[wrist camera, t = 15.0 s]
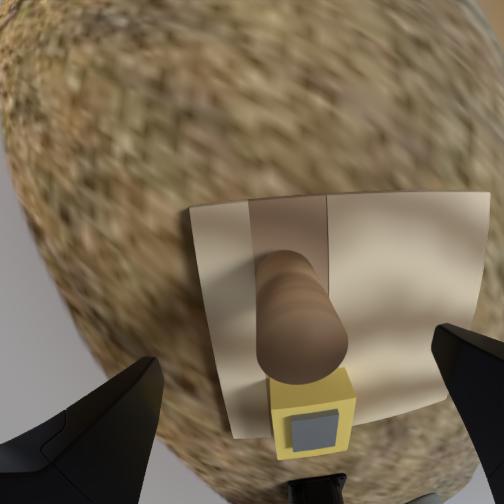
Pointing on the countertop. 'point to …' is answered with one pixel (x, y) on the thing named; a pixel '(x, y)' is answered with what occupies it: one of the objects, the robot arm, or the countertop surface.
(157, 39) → the countertop surface
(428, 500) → the water bottle
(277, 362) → the wooden tool handle
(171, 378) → the countertop surface
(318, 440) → the block
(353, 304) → the plywood panel
